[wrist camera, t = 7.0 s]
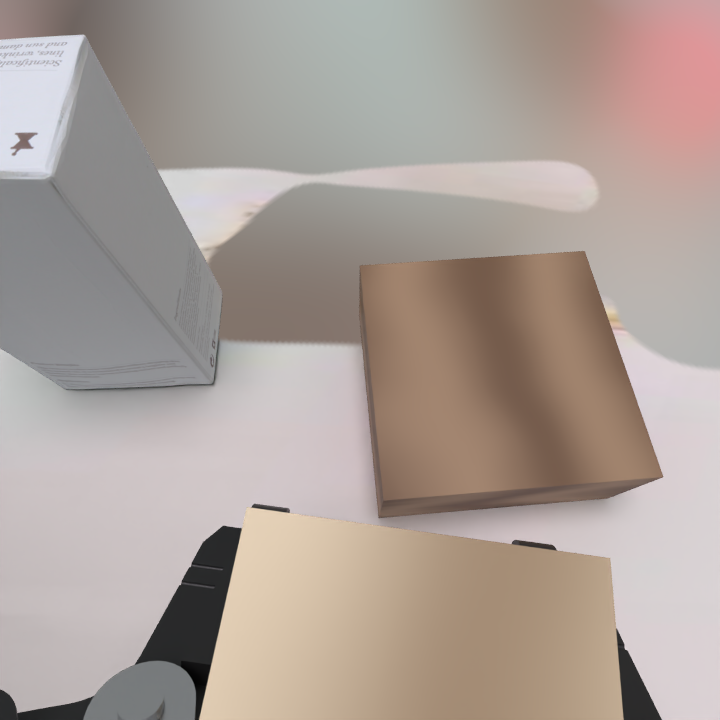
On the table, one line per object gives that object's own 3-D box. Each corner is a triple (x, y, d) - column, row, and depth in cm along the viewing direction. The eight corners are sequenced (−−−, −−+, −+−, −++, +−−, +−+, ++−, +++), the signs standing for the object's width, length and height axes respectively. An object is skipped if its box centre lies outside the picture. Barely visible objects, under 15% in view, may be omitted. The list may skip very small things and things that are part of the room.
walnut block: (378, 518, 23) (383, 500, 19) (359, 318, 28) (359, 265, 23) (604, 499, 24) (663, 476, 19) (548, 305, 28) (584, 251, 24)
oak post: (275, 719, 13) (147, 948, 5) (303, 555, 14) (246, 507, 6) (453, 747, 12) (649, 1035, 4) (459, 577, 14) (609, 557, 6)
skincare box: (225, 295, 28) (106, 23, 15) (215, 393, 26) (59, 170, 12) (78, 299, 28) (-178, 27, 15) (53, 397, 25) (-287, 176, 12)
